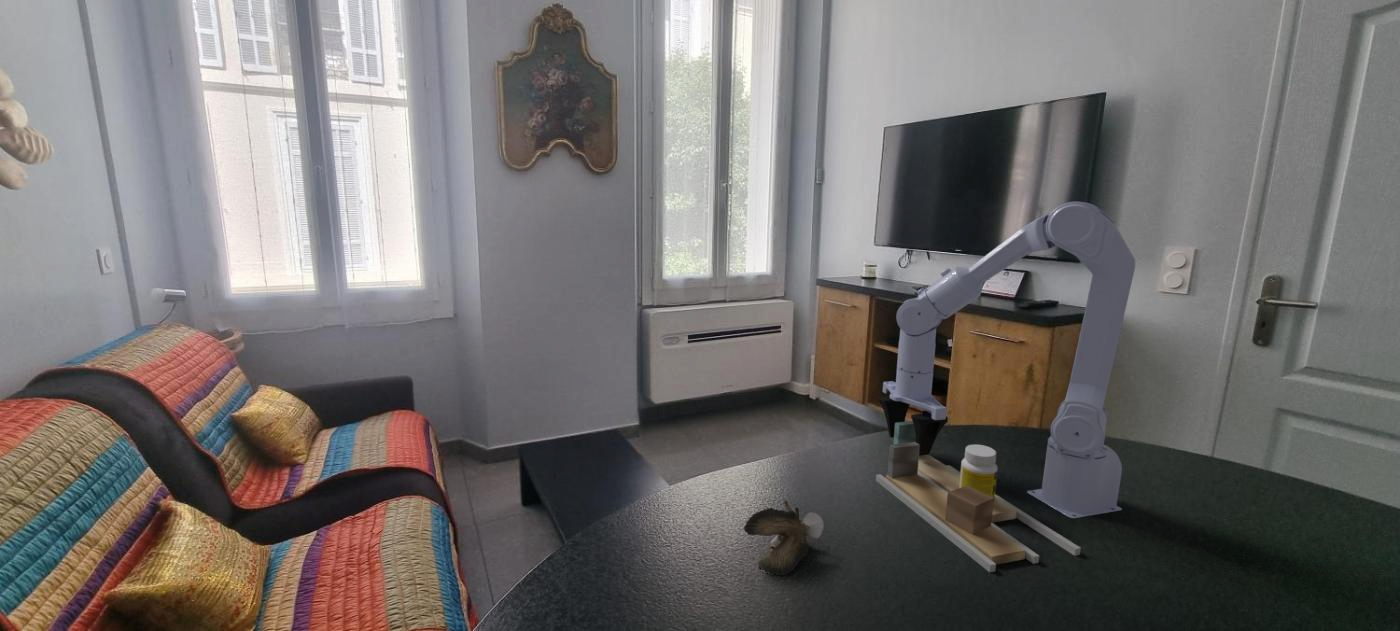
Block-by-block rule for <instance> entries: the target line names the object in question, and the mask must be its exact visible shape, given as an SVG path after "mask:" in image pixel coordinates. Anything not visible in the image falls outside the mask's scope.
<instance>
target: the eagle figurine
mask: <svg viewBox="0 0 1400 631" xmlns="http://www.w3.org/2000/svg"><path fill="white" fill-rule="evenodd" d="M783 504H784V505H783V506H784V507H785V509H786V510H783V509H782V510H781V509H780V510H779V509H775V508H772V507H770V508H769V507H767V508H764V509H763V510H760V511H757V512H755V513H753V514H752V516H750V517H749V518H748V520H747V521H746V522H745V525H744V526H743V529H744V533H746V535H747V536H763V537H764V536H765V537H771V536H775V537H774V538H773V539H771V541H770V545H769V548H772V547H773V549H772V550H771V551H770V552H769V553H768V554H766V555H764V556H763V557H762V558H761V559H759V560H758V561H757V564H758V566H757V567H760V568H761V569H762V570H765V572H767V573H768V572H769V573H770V574H771V575H770V576H774V575H773V574H775V575H776V576H777V575H779V576H780V575H781V576H785V575H786V574H788V573H791V572H792V571H793V570H794V569H796V566H798V564H799V562H800V561H801V560H802V559H803V558H804V557H806V556H807V555H808V552H809V550H810V547H809V546H810V545H809V544H808V540H807V537H809V538H813V539H819V538H820V537H821V535H822V533H823V531H824V529H825V525H824V522H825V521H824V520H823V517H821V515H819V514H817V513H815V512H812V511H810V512H808V513H806V515H805V516H804V518H803V519H802V520H800V510H799V508H798V507H796V506H795V507H794V510H792V508H791V507H790V505H789V502H788V500H786V499H784V500H783ZM760 568H759V569H760Z"/></svg>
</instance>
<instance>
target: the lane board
mask: <svg viewBox="0 0 1400 631" xmlns="http://www.w3.org/2000/svg"><path fill="white" fill-rule="evenodd" d="M946 466H947V467H949V468H950V469H952V470H953V471H955V472H957V473H958V474H960V472H961V471H959V470H957V469H956V468H954V467H953V466H951V465H946ZM917 474H918V475H919V476H921V477H922V478H924V479H925V480H927V481H928V482H929V483H931V484H932V485H934V486H935V487H937V488H938V489H939V490H941V491H942V492H944V493H945V494H946V495H948V492H947V491H946V490H944V489H943V488H941V487H940V486H938V485H937V484H935V483H934V482H933V481H931V480H930V479H928V478H927V477H925V476H924V475H922V474H921V473H920V472H918V473H917ZM875 482H877V483H878V484H880V485H881V486H882V487H883V488H885V489H886V490H887V491H888V492H889V493H891V495H893V496H894V497H896V498H897V499H898V500H900V502H902V503H903V504H904V505H906V506H907V507H908V508H909V509H911V510H912V511H913V512H914V513H915V514H917V515H918V516H919V517H920V518H922V519H923V520H924V521H925V522H926V523H928V524H929V525H930V526H931V527H933V528H934V529H935V530H937V532H939V533H940V534H942V535H943V536H944V537H945V538H946V539H948V540H949V541H950V542H951V543H953V545H955V546H956V547H958V548H959V549H960V550H961V551H962V552H963V553H965V554H966V555H967V556H968V557H970V558H971V559H973V561H975V562H977V564H979V565H980V566H982V568H983V569H985V570H986V571H987V572H988V573H994V572H996V569H997V568H996V567H997V564H995V563H994V562H993V561H991V560H990V559H989V558H988V557H986V556H985V555H984V554H982V553H981V552H980V551H979V550H977V549H976V548H975V547H973V546H972V545H971V544H970V543H968V542H967V541H966V540H964V539H963V538H962V537H961V536H959V535H958V534H957V533H955V532H954V531H953V530H952V529H950V528H949V527H948V526H946V525H945V524H944V523H943V522H941V521H940V520H939V519H938V518H936V517H935V516H934V515H932V514H931V513H930V512H929V511H927V510H926V509H925V508H923V507H922V506H921V505H920V504H918V503H917V502H916V501H914V500H913V499H912V498H911V497H909V496H908V495H907V494H905V493H904V492H903V491H902V490H900V489H899V488H898V487H896V486H895V485H894V484H893V483H891V482H890V481H889V480H887V479H886V476H884V475H882V474H881V473H879V474H876V475H875ZM995 497H996V498H998V499H999V500H1001V501H1002V502H1004V503H1005V504H1007V505H1009V506H1010V507H1012V508H1013V509H1015V510H1017V514H1016V519H1017V520H1019V521H1020V522H1022V523H1023V524H1025V525H1027V526H1028V527H1029V528H1031V529H1032V530H1034V531H1036V532H1037V533H1039V534H1040V535H1042V536H1043V537H1045V538H1047V539H1048V540H1049V541H1052V542H1053V543H1054V544H1056V545H1057V546H1059V547H1060V548H1062V549H1064V550H1065V551H1067V552H1068V553H1070V554H1071V555H1073V556H1074V557H1075V556H1080V555H1081V547H1080V546H1079V545H1077V544H1075V543H1073V542H1072V541H1071V540H1069V539H1068V538H1066V537H1064V536H1063V535H1061V534H1059V533H1058V532H1056V531H1054V530H1053V529H1051V528H1050V527H1048V526H1047V525H1045V524H1043V522H1040V521H1039V520H1037V519H1036V518H1034V517H1032V516H1031V515H1029V514H1028V513H1026V512H1025V511H1023V510H1021V509H1020V508H1018V507H1016V506H1015V505H1013V504H1012V503H1010V502H1008V501H1007V500H1005V499H1004V498H1002V497H1001V496H999V495H998V494H996V493H995ZM991 526H992V527H993V528H995V529H996V530H998V531H999V532H1001V533H1002V534H1003V535H1005V536H1006V537H1008V538H1009V539H1010V540H1012V541H1013V542H1015V543H1016V544H1018V545H1019V546H1020V547H1022V548H1023V549H1025V550H1026V552H1025V560H1027V561H1028V562H1030V563H1032V565H1034V564H1038V563H1039V561H1040V554H1037V553H1036V552H1035V551H1033V550H1032V549H1031V548H1029V547H1028V546H1026V545H1025V544H1023V543H1022V542H1020V541H1019V540H1017V539H1016V538H1015V537H1013V536H1012V535H1010V534H1009V533H1007V532H1006V531H1004V530H1003V529H1002V528H1000V527H999V526H998V525H996V524H995V523H994V522H993V523H991Z"/></svg>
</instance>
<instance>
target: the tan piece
mask: <svg viewBox="0 0 1400 631" xmlns="http://www.w3.org/2000/svg"><path fill="white" fill-rule="evenodd" d="M910 442H916V435H915V428H914V424H913V421H912V420H909V421H905V422H898V423H895V431H894V438H893V444H901V443H910ZM918 472H920V473H921V474H922V475H924V476H925V477H927V478H928V479H930V480H931V481H933V482H934V483H935V484H937V485H938V486H940V487H941V488H943V489H944V490H946V491H947V492H950V491H953V490H956V489H958V488H959V483H960V474H958V473H957V472H955V471H953V470H952V469H950V468H949V467H947V465H946V464H944V463H942V462H941V461H939V460H937V459H936V458H934V457H933V456H931V455H930V454H929V455H922V456H919V461H918ZM1016 514H1017V510H1015V509H1013V508H1012V507H1010V506H1009V505H1007V504H1005V503H1004V502H1002V501H1001V500H999V499H998V498H996V497H995V501H994V505H993V514H992V523H993V524H994V523H997V522H998V523H999V522H1003V521H1004V522H1005V521H1009V520H1016V519H1017V518H1016Z"/></svg>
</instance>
